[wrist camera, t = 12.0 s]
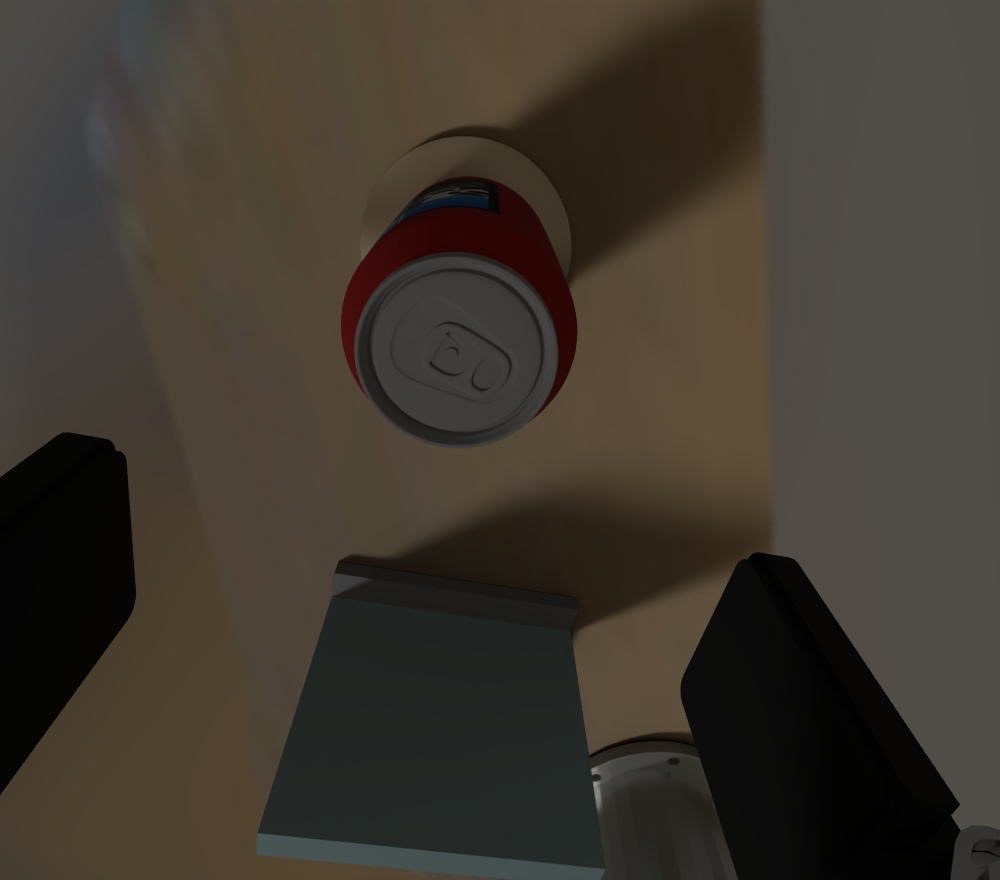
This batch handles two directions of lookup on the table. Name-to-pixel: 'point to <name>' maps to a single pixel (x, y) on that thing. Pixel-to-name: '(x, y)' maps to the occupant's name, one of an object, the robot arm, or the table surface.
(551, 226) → the coaster
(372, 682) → the screen
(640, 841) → the robot arm
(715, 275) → the table surface
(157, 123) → the table surface
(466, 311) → the beverage can
